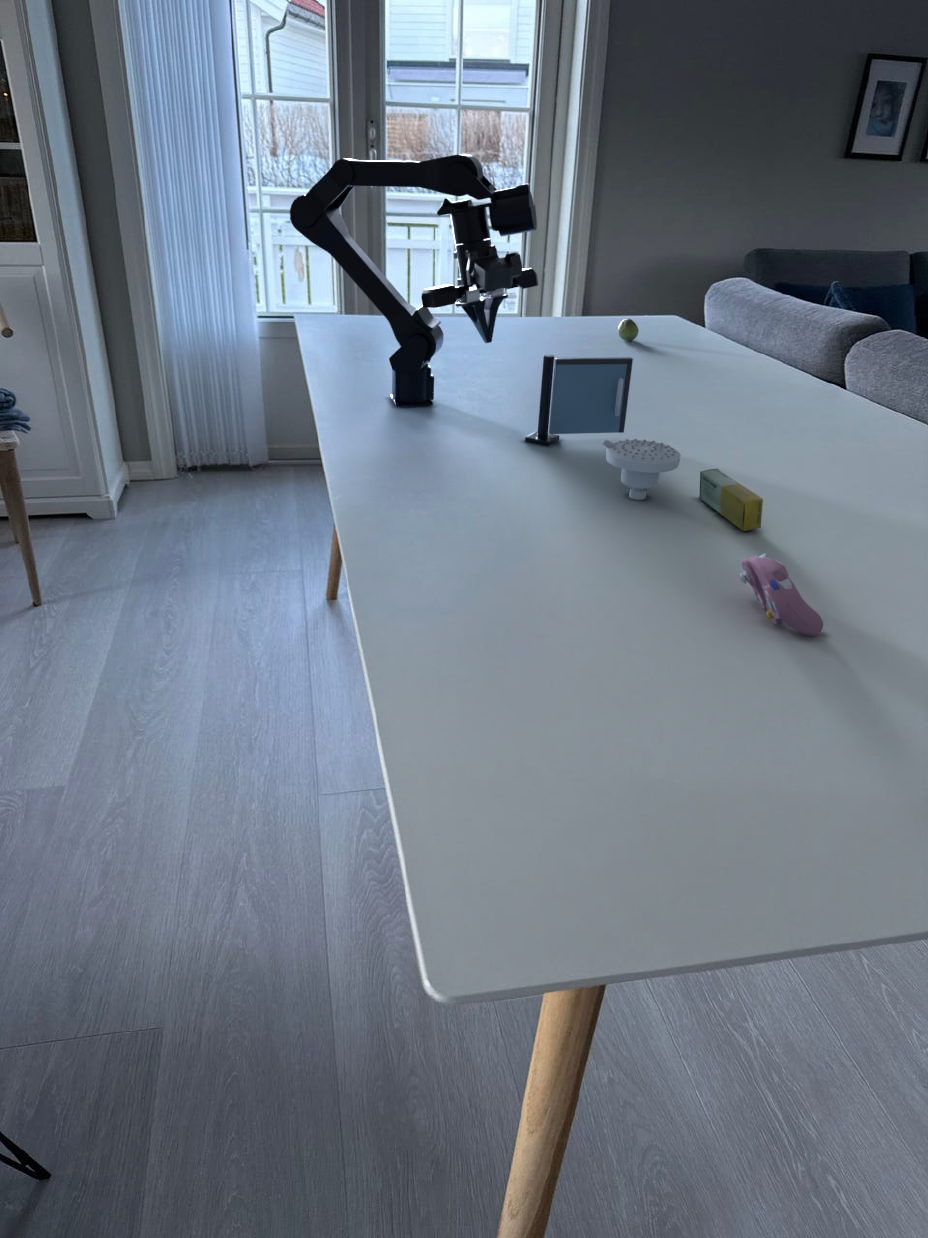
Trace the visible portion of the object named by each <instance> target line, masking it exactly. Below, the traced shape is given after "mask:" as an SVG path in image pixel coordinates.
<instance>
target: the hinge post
mask: <svg viewBox="0 0 928 1238" xmlns="http://www.w3.org/2000/svg"><path fill="white" fill-rule="evenodd" d="M542 357H543V358H542V368H541V369H542V370H541V384H540V395H539V410H538V423H537V430H536V431H533V432H532V433H530V434H529V435H527V436H525V437H524V442H525V443H529V444H534V445H538V446H543V447H546V448H547V447H548V448H549V447H550V446H552V445H554V444H556V443H557V442H559V441H560V434H550V433H549V426H550V414H551V402H552V390H553V378H554V366H555V355H553V354H544V355H543V356H542Z"/></svg>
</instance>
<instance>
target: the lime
mask: <svg viewBox="0 0 928 1238" xmlns="http://www.w3.org/2000/svg"><path fill="white" fill-rule="evenodd" d="M617 335H618V336H619V337H620V339H622V340H623V341H628V342H629V341H634V340H635V339H636V338H637V337H638V335H639V327H638V325H637V323H636V322H635V321H634V320H633V319H631V318H624V319H622V320H621V322H620V323H619V324H618V327H617Z"/></svg>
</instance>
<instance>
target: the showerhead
mask: <svg viewBox="0 0 928 1238" xmlns="http://www.w3.org/2000/svg"><path fill="white" fill-rule="evenodd" d="M602 445H604V446H605V447H606V452H605V459H606V461H607V463H608V464H610V465H612V466H613V467H615V468H618V469H621V475H620V481H621V483H622V484H624V486H626V487H628V488H629V492H628V493H629V494H628V498H630V499H633V500H635V501H642V500H645V499H646V497H647V491H648V490H649V489H653V488H656V487H657V486H658V485H659V480H660V474H662V473H666V472H667V473H668V472H672V471H674V470H676V469H677V468H678V467H679V465H680V460H681V452H680V451H678V450H677V449H676V448H674V447H672V446H671V445H670V444H664V442H656V441H655V440H652V441H650V440H647V439H642V440H641V439H640V440H638V439H637V438H634V439H630V440H629V439H628V438H627V439H625V440H618V441H615V442H612V441H610V440H608V439H605V440H604V441H603V442H602Z"/></svg>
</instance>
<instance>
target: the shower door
mask: <svg viewBox="0 0 928 1238" xmlns="http://www.w3.org/2000/svg"><path fill="white" fill-rule="evenodd" d="M633 360H634V358H633V357H631V356H630V357H628V356H626V357H624V356H623V357H619V356H618V357H616V356H615V357H554V366H553V378H552V390H551V402H550V414H549V427H548V433H549V434H554V435H572V434H614V433H616V434H617V433H619V434H620V433H621V434H622V433H623V434H624V433H625V426H626V419H627V411H628V401H629V395H630V394H629V393H630V386H631V378H632V377H631V376H632V370H633Z"/></svg>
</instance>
